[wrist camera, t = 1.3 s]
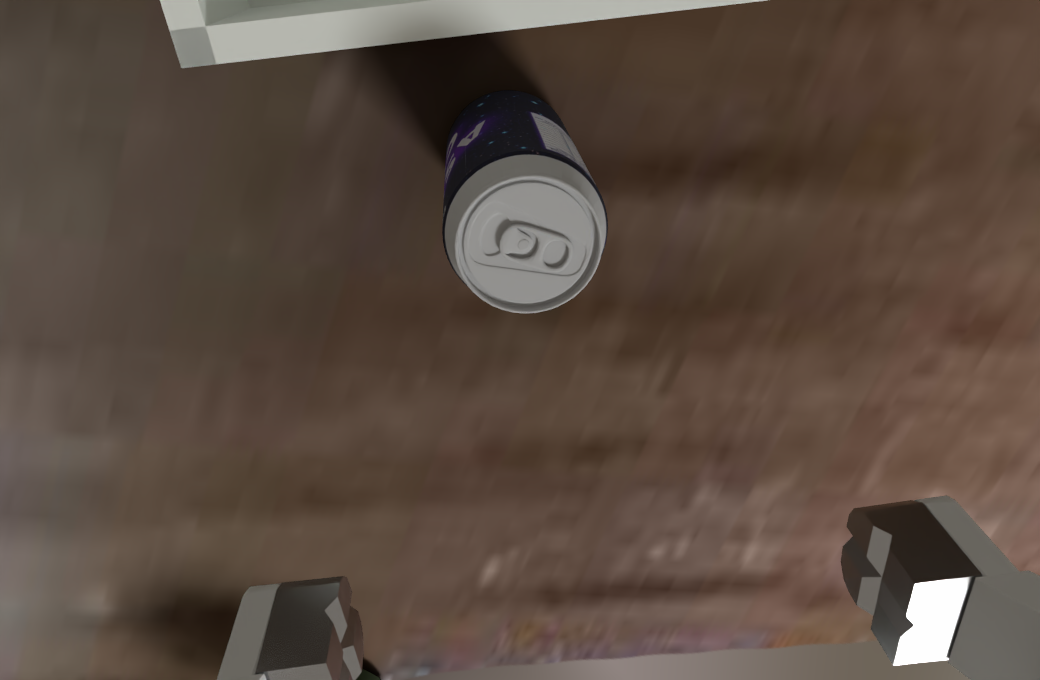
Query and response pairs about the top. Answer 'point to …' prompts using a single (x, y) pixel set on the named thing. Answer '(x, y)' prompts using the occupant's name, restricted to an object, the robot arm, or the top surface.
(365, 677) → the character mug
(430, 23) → the crate
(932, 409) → the top surface
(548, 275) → the beverage can
